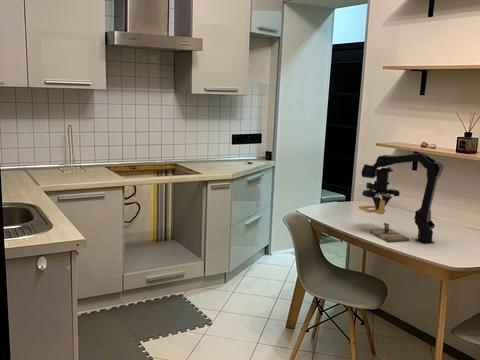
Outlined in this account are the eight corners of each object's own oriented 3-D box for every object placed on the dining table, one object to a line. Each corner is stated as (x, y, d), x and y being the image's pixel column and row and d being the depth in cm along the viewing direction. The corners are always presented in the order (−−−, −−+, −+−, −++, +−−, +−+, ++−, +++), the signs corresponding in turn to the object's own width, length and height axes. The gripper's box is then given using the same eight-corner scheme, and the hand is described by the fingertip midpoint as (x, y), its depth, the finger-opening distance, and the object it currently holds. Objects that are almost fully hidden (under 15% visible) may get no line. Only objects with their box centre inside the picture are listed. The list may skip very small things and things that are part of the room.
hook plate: (409, 241, 231) (410, 229, 229) (388, 242, 227) (389, 230, 226) (389, 231, 245) (390, 220, 244) (369, 232, 242) (370, 221, 241)
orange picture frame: (358, 208, 253) (359, 195, 252) (374, 207, 256) (375, 194, 255) (373, 214, 240) (374, 201, 239) (389, 213, 243) (391, 200, 242)
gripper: (388, 176, 251) (385, 205, 254) (357, 177, 245) (355, 206, 248) (401, 180, 240) (398, 210, 243) (369, 181, 235) (367, 211, 237)
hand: (379, 209), depth 243 cm, fingers closed on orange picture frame, 3 cm apart
